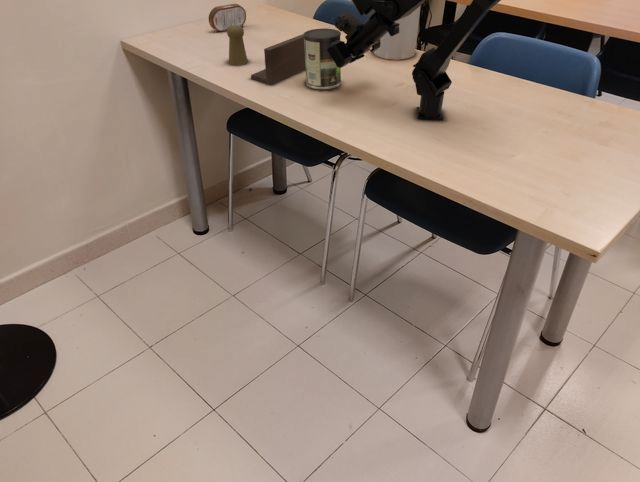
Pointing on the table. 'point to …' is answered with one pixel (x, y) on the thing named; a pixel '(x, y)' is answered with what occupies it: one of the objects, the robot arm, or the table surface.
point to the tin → (227, 17)
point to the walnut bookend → (282, 61)
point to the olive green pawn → (236, 46)
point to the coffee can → (321, 59)
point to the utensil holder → (401, 39)
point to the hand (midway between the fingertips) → (336, 64)
